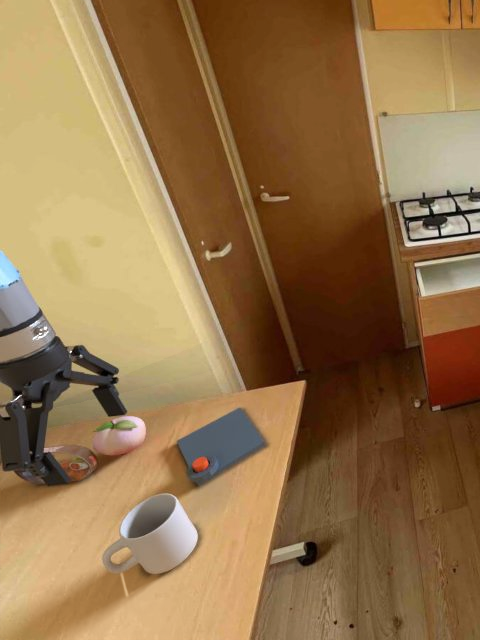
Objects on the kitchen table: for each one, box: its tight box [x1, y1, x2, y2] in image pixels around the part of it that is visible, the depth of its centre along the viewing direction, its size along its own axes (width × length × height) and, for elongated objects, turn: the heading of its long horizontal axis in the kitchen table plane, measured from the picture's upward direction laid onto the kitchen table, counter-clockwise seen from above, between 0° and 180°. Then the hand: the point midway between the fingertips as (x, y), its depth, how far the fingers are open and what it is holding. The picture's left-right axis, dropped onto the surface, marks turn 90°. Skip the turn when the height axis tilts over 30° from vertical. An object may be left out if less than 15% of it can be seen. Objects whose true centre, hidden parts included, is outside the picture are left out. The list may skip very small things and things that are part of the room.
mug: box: [101, 493, 199, 575], centre depth 77 cm, size 12×8×11 cm
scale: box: [176, 406, 267, 487], centre depth 100 cm, size 15×17×3 cm
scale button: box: [192, 457, 209, 472], centre depth 93 cm, size 3×3×2 cm
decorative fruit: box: [92, 415, 147, 456], centre depth 98 cm, size 9×8×10 cm
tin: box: [13, 444, 99, 485], centre depth 92 cm, size 15×3×8 cm, turn 95°
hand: (91, 445), depth 71 cm, fingers open, 13 cm apart
